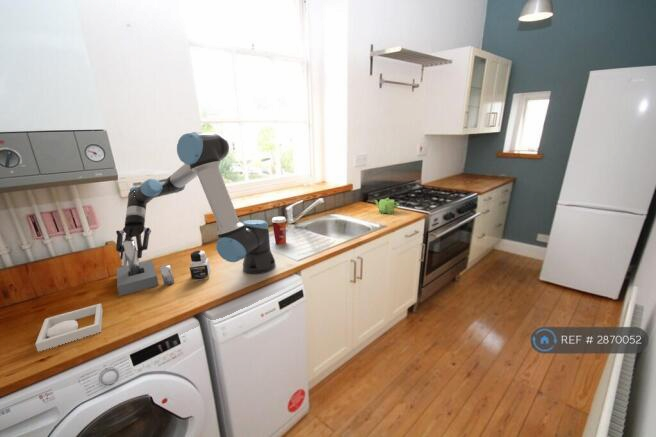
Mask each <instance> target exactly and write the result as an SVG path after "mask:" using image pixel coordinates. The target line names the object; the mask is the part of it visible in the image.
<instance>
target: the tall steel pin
mask: <svg viewBox="0 0 656 437" xmlns="http://www.w3.org/2000/svg"><path fill="white" fill-rule="evenodd" d="M122 245H124V249H125V253H126V257H127V266H129V269H130V273H131V275H136V274H139V273H141V268H140V264H139V266H136V265H134V259H135V250H137V247H136V243H135V240H134V239H133V238H132V239H131V240H126V241H124V240H123V242H122Z"/></svg>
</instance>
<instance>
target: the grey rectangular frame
mask: <svg viewBox="0 0 656 437" xmlns="http://www.w3.org/2000/svg"><path fill="white" fill-rule="evenodd" d="M103 311H104V310H103V307H102V303H97V304H93V305H91V306H90V305H89V306H86V307H82V308H80V309H75V310H72V311H68V312H64V313H62V314H56V315H53V316H49V317H47V318H45V319H44V321H43V324H42V326H41V329H40V331H39V334H38V336H37V339H36V342H35V348H36V349H37V352H38V353H40V352H39V351H41V352H43V351H42V350H44V351H47V350H50V349H53V348H56V347H59V346H58V345H60V346H63V345H65V343H66V344H68V342H69V343H72V342H75V341H78V340H82V339H84V338H83V337H85V338H87V337H86V336H88V337H90V336H89V335H91V336H94V335H96V333H97V334H100V333H102V326H103V324H102V323H103V313H104V312H103ZM93 315H94V316H95V317H94V322H93V323H94V324H90V325H87V326H83V327H80V328H78V329H77V330H73V331H70V332H67V333H64V334H60V335H57V336H54V337H51V338H50V337H47V336H46V332H47V330H48V329H49V328H51V327H53V326H54V325H56V324H58V323H61V322H63V321H68V320H75V321H77V320H79V319H83V318H86V317H89V316H90V317H91V316H93ZM99 332H100V333H99ZM93 334H94V335H93ZM77 339H78V340H77ZM74 340H75V341H74ZM71 341H72V342H71ZM62 344H63V345H62ZM52 347H53V348H52ZM49 348H50V349H49ZM46 349H47V350H46Z"/></svg>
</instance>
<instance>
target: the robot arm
mask: <svg viewBox="0 0 656 437" xmlns="http://www.w3.org/2000/svg"><path fill="white" fill-rule="evenodd" d="M229 151H230V145H229V142H228V140H227V139H226V137H225V136H224V135H222V134H221V133H218V132H213V131H209V132H207V131H206V132H196V131H195V132H188V133H185V134H182V135H181V136H180V138H179V139H178V141H177V144H176V153H177V156H178V158H179V160H180V162H183V164H182V166H180V167H179V168H178V169H177V170H176V171H174V172H173V173H172V174H171V175H169V177H167V178H163V179H159V180H158V179H156V178H155V179H154V178H148V179H147V180H145V181H144V182H142V184H140V185H139V186H134V187H131V188H130V189H129V191H130V192H129V191H128V194H127V205H126V212H125V219H124V227H123V228H122V229H121V230H116V232H115V233H116V246H115V251H117V252H118V253H119V254H120V257H119V259H120V260H121V267H124V268H126V266H128V261H127V257H126V253H125V249H124V245H123V241H126V240H131V239H132V240H133V238H135V240H136V246H137V247H136V250H135V259H134V265H136V266H139V263H140V259H141V258H142V257H143V251H146V250H148V246H149V239H150V234H151V232H152V230H151V228H150V227H145V225H146V224H145V223H146V214H147V204H148V203H149V202H151V201H152V200H153V199H155V198H159V197H162V196H168V195H171V194H175V193H176V194H178V193H179V192H182V191H183V190H185V189H186V188H185V187H186V185H187V184H189V183H190V182H191V181H192V180H194V179H195V178H196V177H198V179H199V183H200V185H201V187H202V190H203V193H204V196H205V197H206V200H207V201H208V204H209V207H210V210H211V212H212V214H213V217H214V219H215V222H216V224H217V227H218V231H217V233H216V235H217V237H218V240H217V241H216V245H215V249H216V252H217V254H218V256H220V257H221V259H223V260H225V261H226V262H229V263H236V262H239V261H241V260H243V263H242V268H243V271H244V272H245V273H248V274H253V275H257V274H264V273H267V272H271V271H272V270H273V269H274V268H275V267H276V261H275V260H276V259H275V258H274V255H273V253H272V250H271V244H270V241H271V240H270V232H269V230H270V229H269V225H268V222H267V221H266V220H263V219H249V220H244V221H242V222H241V221H240V219H239V217H238V215H237V212H236V210H235V206H234V204H233V202H232V201H233V200H232V199H231V196H230V194H229V191H228V189H227V186H226V183H225V181H224V178H223V175H222V174H221V171H220V168H219V167H220V164H221V161H222V160H224V159H225V158H226V157H227V155H228V154H229ZM134 191H135V192H134ZM134 196H135V197H134ZM124 233H125V234H124ZM142 234H143V238H142ZM124 235H125V237H123V236H124ZM142 239H143V240H142Z"/></svg>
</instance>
